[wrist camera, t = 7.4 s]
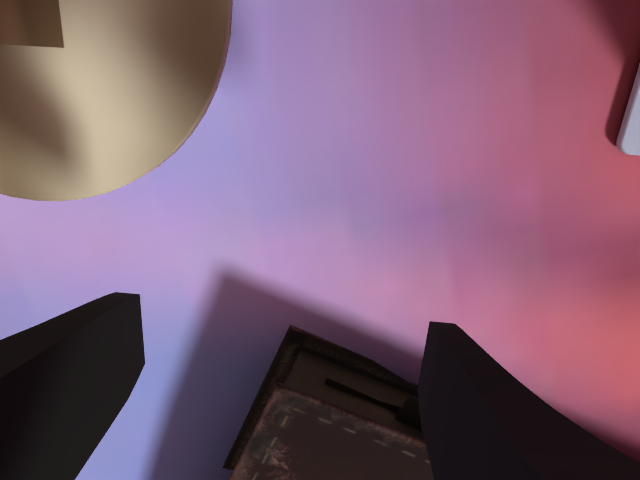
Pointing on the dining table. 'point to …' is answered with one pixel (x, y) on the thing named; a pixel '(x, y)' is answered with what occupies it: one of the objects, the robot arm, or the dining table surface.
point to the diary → (330, 419)
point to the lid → (102, 89)
